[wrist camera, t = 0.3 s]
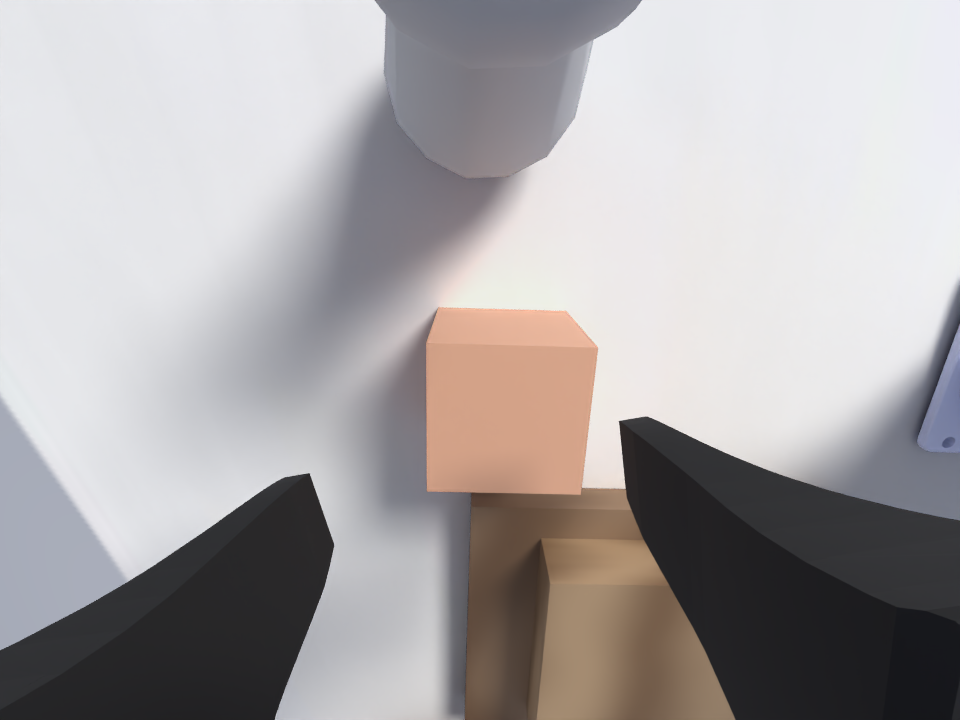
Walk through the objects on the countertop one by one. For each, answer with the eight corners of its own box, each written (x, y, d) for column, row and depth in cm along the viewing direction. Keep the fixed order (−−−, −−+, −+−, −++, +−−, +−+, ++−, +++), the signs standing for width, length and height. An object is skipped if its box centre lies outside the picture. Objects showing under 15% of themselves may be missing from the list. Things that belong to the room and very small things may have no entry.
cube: (565, 310, 18) (597, 347, 14) (555, 425, 20) (580, 494, 15) (438, 307, 18) (426, 343, 13) (438, 422, 20) (426, 491, 15)
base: (825, 493, 21) (903, 556, 17) (761, 699, 25) (812, 787, 21) (471, 485, 21) (471, 549, 17) (465, 696, 25) (463, 786, 21)
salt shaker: (497, 216, 17) (559, 245, 5) (365, 110, 16) (-17, -224, 4) (604, 71, 16) (1104, -442, 3) (467, -58, 14) (430, -1613, 2)
